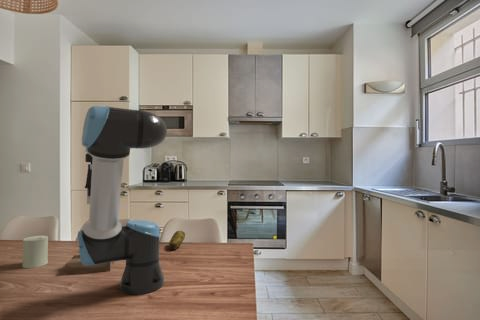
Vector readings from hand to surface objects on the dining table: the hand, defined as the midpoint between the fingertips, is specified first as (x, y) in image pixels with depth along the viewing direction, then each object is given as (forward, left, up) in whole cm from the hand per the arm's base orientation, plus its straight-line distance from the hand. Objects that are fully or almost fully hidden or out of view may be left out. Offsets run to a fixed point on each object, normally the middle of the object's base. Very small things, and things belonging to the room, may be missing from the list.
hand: (94, 202), depth 124 cm
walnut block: (0, 0, -28) cm, 28 cm away
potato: (+20, -36, -28) cm, 50 cm away
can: (+8, +25, -28) cm, 38 cm away
